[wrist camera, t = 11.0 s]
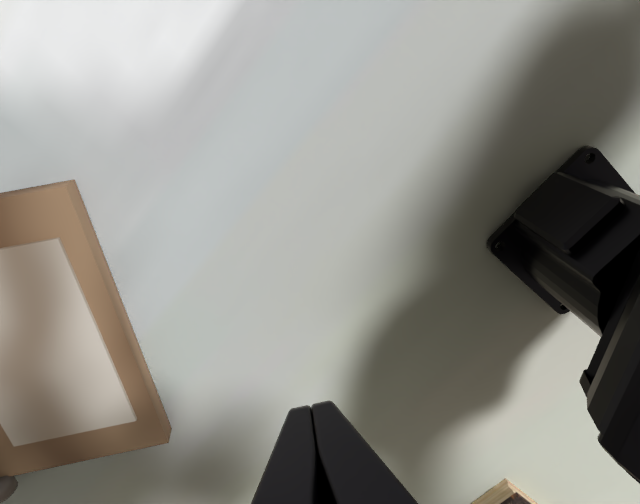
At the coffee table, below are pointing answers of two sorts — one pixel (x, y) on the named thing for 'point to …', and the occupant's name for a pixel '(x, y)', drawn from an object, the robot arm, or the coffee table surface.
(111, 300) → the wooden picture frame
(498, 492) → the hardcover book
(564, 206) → the robot arm
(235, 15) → the coffee table surface
